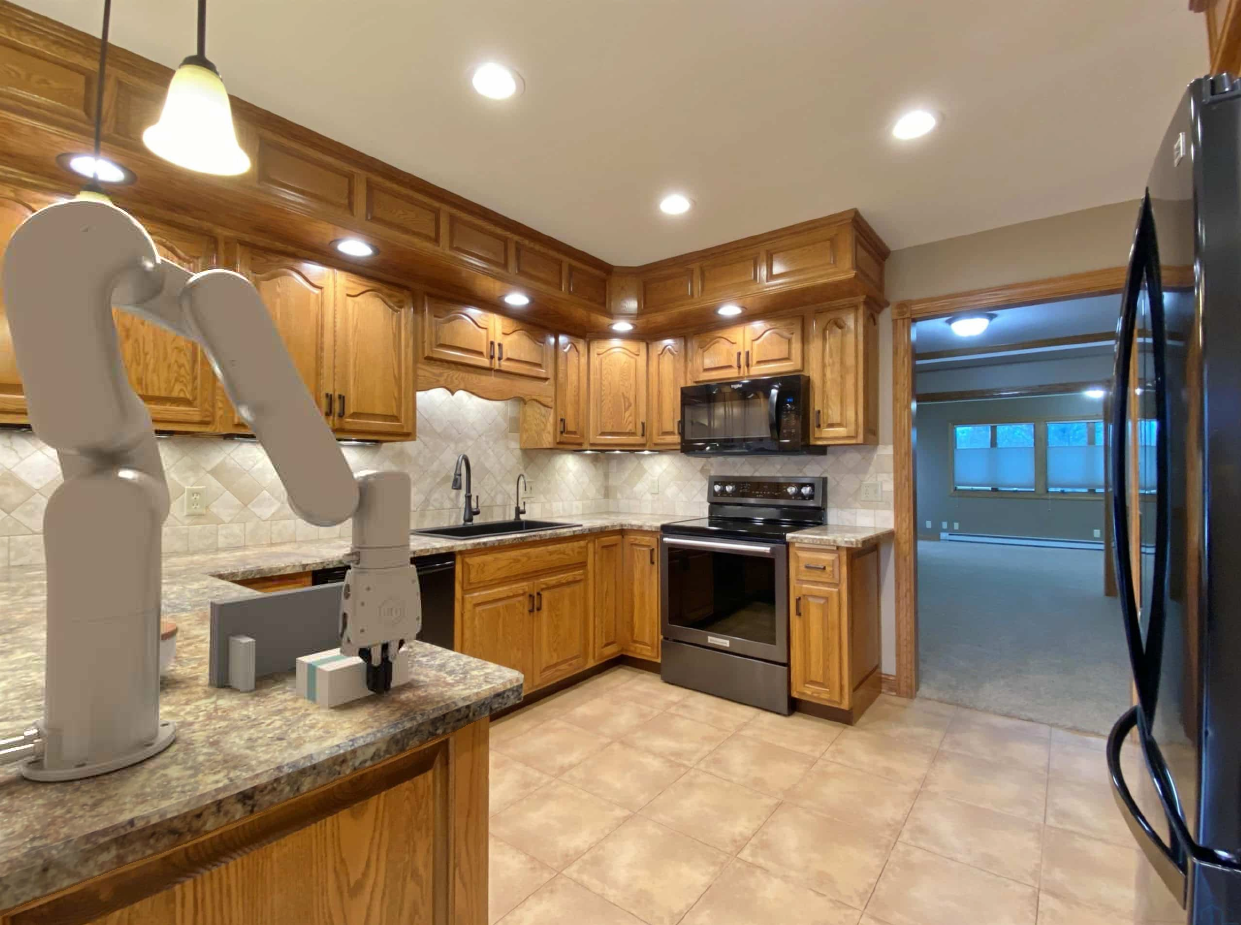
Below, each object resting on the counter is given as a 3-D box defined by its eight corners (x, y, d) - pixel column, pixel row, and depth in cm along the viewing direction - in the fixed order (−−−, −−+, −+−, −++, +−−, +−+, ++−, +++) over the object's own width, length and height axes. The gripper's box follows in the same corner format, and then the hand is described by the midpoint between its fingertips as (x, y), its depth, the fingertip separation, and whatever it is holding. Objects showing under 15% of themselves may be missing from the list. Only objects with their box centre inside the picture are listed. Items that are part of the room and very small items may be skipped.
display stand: (230, 695, 80) (232, 609, 80) (208, 682, 84) (210, 601, 85) (388, 652, 99) (389, 583, 99) (363, 644, 104) (364, 578, 104)
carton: (327, 709, 76) (328, 671, 76) (295, 693, 81) (296, 658, 81) (408, 682, 85) (408, 649, 86) (375, 670, 91) (375, 638, 91)
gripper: (341, 567, 71) (339, 715, 71) (443, 554, 83) (441, 681, 83) (313, 561, 76) (310, 700, 76) (413, 550, 88) (411, 670, 87)
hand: (379, 690), depth 79 cm, fingers closed
